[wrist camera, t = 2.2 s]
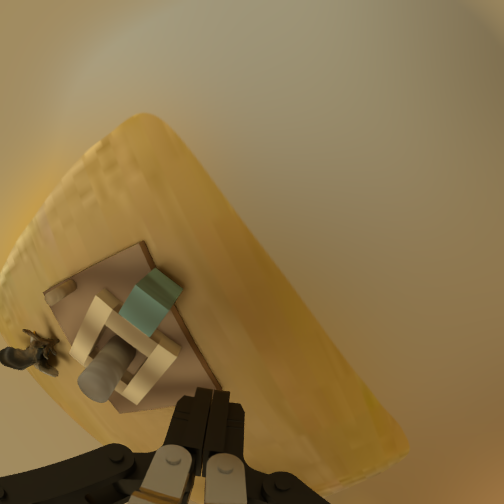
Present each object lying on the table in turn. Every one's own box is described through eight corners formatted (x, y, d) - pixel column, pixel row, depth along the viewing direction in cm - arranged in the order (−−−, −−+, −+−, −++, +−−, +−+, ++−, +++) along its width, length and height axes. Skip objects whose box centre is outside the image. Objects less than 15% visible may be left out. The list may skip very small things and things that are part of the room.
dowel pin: (78, 288, 23) (56, 303, 19) (71, 292, 23) (48, 307, 19) (73, 277, 23) (50, 291, 19) (66, 281, 23) (42, 295, 19)
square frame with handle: (141, 394, 26) (129, 421, 21) (76, 345, 24) (56, 366, 20) (211, 309, 23) (203, 335, 19) (128, 246, 22) (104, 258, 18)
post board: (221, 388, 27) (213, 446, 19) (122, 407, 28) (99, 452, 20) (143, 240, 23) (97, 265, 15) (49, 288, 24) (2, 317, 16)
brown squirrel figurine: (27, 303, 24) (-1, 335, 23) (20, 351, 18) (-8, 379, 18) (72, 335, 29) (39, 361, 28) (73, 381, 24) (39, 403, 23)
